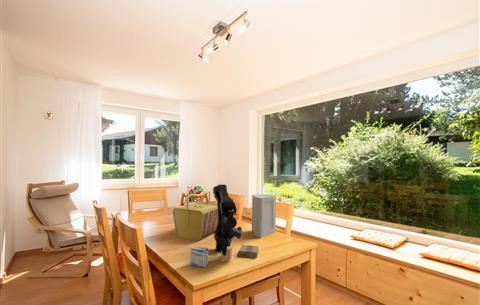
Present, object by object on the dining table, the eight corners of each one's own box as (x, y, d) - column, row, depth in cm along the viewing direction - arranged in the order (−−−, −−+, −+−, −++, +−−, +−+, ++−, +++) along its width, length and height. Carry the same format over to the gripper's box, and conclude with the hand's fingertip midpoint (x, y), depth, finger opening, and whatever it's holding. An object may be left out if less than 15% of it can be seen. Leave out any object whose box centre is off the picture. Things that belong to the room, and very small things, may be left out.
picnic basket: (195, 227, 188) (196, 189, 190) (224, 231, 178) (224, 191, 179) (170, 237, 162) (171, 193, 163) (201, 243, 151) (202, 196, 152)
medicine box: (190, 265, 119) (190, 248, 119) (194, 262, 123) (195, 245, 124) (203, 268, 116) (204, 250, 117) (208, 264, 120) (208, 247, 121)
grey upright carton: (260, 228, 188) (260, 193, 189) (275, 232, 178) (276, 195, 179) (244, 233, 173) (245, 195, 174) (260, 238, 163) (261, 197, 164)
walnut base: (238, 256, 132) (239, 251, 132) (241, 249, 141) (241, 244, 142) (256, 257, 130) (256, 252, 130) (258, 251, 140) (258, 246, 140)
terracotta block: (220, 260, 126) (221, 249, 126) (223, 257, 131) (223, 246, 131) (230, 261, 125) (230, 250, 125) (231, 257, 130) (232, 246, 130)
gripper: (238, 229, 118) (238, 260, 117) (244, 220, 136) (243, 247, 136) (217, 227, 120) (216, 258, 119) (225, 218, 138) (224, 245, 138)
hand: (226, 252), depth 128 cm, fingers open, 9 cm apart
